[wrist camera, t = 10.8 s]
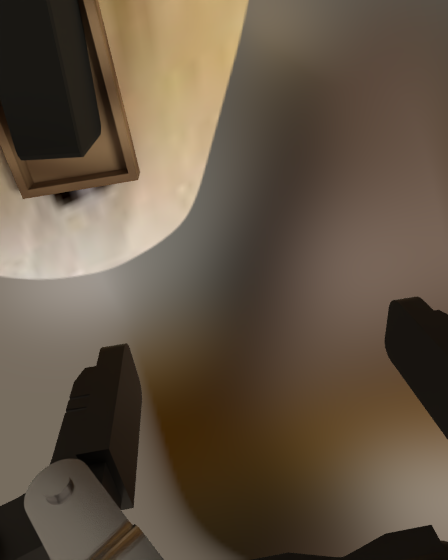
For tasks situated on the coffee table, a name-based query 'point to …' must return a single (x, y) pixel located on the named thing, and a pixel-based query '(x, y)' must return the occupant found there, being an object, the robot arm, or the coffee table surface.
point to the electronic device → (47, 79)
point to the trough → (107, 148)
